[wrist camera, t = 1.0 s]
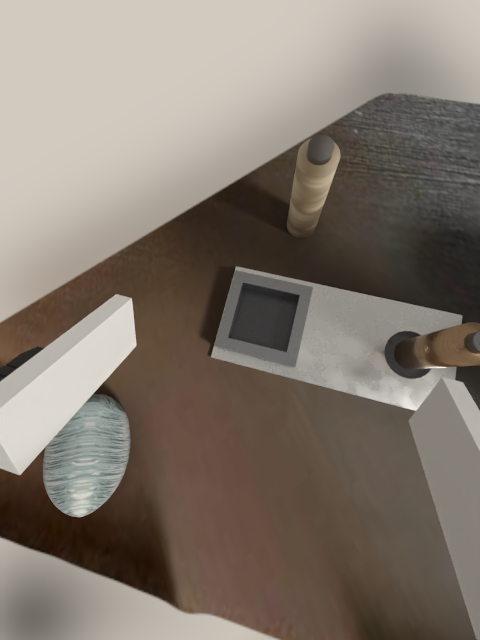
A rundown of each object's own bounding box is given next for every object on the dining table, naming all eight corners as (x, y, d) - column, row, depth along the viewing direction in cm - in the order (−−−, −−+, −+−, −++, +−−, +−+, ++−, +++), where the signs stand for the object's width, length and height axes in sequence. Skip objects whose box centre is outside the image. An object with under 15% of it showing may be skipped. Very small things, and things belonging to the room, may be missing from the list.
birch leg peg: (318, 215, 44) (347, 130, 29) (312, 240, 43) (339, 167, 28) (290, 210, 44) (304, 124, 29) (283, 235, 43) (295, 160, 28)
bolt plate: (459, 316, 39) (569, 281, 25) (447, 419, 36) (562, 443, 22) (236, 267, 43) (224, 214, 29) (211, 357, 40) (185, 346, 26)
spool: (59, 384, 38) (36, 413, 29) (134, 384, 41) (136, 410, 32) (50, 482, 38) (25, 541, 29) (125, 474, 42) (124, 525, 33)
